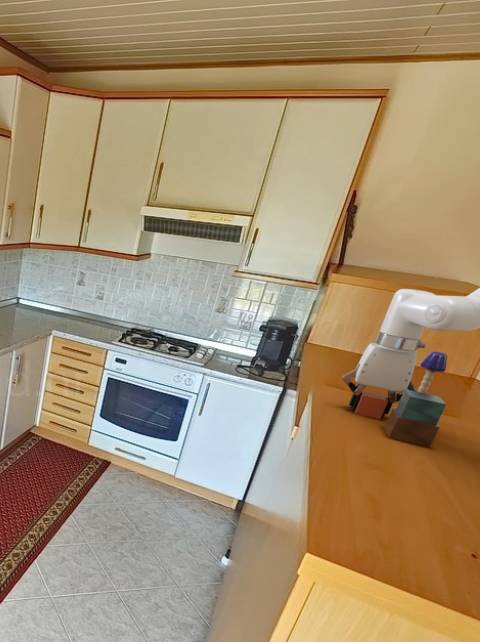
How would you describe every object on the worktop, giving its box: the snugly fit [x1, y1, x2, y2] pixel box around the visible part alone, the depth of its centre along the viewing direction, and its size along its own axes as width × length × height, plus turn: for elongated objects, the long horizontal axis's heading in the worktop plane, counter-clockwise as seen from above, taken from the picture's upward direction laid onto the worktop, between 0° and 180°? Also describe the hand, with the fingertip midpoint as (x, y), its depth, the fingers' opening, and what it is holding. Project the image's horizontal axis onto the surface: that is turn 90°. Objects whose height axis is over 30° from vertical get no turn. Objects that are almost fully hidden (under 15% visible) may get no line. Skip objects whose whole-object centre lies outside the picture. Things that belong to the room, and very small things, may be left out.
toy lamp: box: [417, 350, 448, 394], centre depth 120 cm, size 5×5×17 cm
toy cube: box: [354, 389, 388, 420], centre depth 121 cm, size 5×5×5 cm
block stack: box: [383, 389, 447, 449], centre depth 107 cm, size 7×7×10 cm
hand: (366, 411), depth 121 cm, fingers closed on toy cube, 5 cm apart
